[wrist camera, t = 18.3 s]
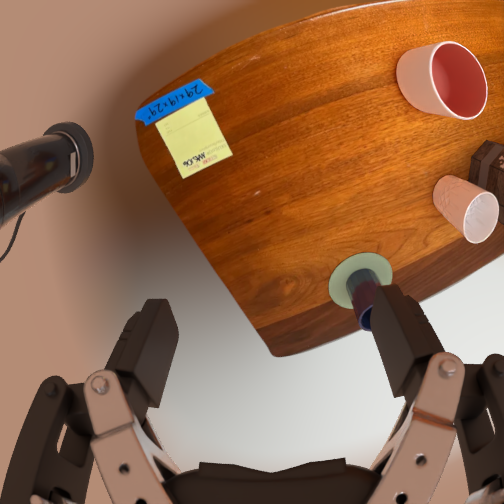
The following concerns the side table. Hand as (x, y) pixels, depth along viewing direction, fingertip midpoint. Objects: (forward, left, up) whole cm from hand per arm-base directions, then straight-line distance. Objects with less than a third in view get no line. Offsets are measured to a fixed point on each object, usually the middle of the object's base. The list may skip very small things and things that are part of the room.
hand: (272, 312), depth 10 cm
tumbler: (+15, -22, -30) cm, 40 cm away
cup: (+24, +12, -30) cm, 40 cm away
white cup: (+30, -6, -30) cm, 43 cm away
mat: (+15, -22, -30) cm, 40 cm away
